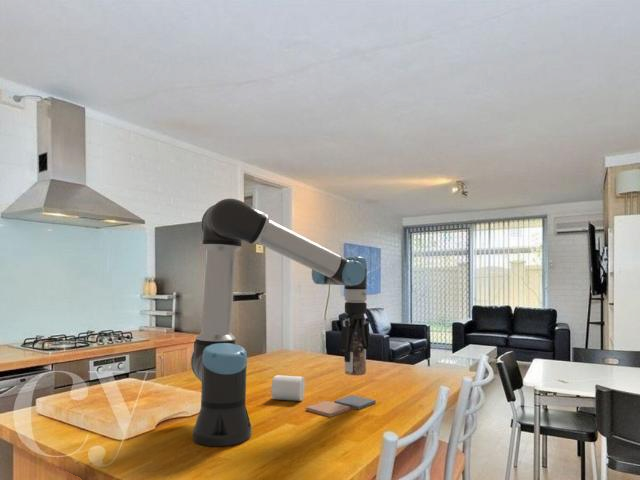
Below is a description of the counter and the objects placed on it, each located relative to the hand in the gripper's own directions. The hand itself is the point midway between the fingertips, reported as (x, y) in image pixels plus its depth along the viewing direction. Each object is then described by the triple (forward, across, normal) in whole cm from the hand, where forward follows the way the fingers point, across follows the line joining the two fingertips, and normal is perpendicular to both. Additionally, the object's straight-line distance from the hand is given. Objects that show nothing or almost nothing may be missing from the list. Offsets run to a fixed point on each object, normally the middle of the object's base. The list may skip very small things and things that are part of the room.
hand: (355, 369), depth 151 cm
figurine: (+1, 0, 0) cm, 1 cm away
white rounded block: (+11, -10, +21) cm, 26 cm away
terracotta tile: (+11, -12, +2) cm, 17 cm away
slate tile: (+11, 0, 0) cm, 11 cm away
